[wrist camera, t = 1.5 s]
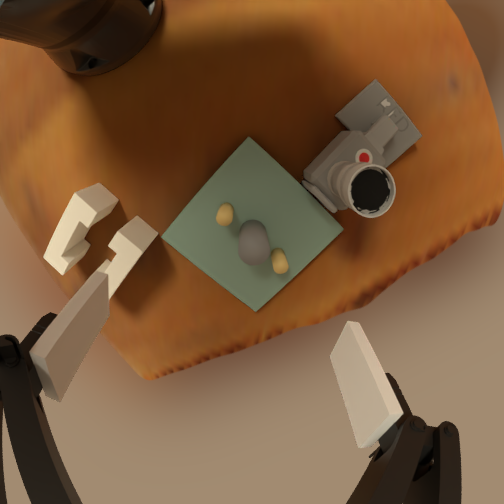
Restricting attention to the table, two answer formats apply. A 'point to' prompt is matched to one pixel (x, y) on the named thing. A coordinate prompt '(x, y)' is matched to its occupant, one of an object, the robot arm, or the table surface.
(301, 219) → the board
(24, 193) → the table surface
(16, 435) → the robot arm
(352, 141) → the camera
